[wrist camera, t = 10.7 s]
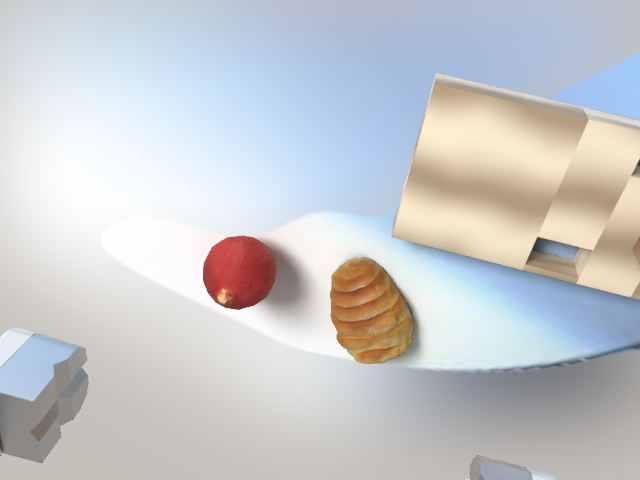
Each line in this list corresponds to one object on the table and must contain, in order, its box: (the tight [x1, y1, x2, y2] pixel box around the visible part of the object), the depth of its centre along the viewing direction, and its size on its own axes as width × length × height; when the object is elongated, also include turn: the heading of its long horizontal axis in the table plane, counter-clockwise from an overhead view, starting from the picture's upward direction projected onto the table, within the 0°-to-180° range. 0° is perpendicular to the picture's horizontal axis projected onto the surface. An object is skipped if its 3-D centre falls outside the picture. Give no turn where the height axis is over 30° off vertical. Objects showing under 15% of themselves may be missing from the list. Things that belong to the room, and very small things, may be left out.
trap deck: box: [392, 73, 640, 300], centre depth 41 cm, size 12×22×6 cm, turn 80°
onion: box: [203, 236, 276, 310], centre depth 48 cm, size 6×6×8 cm
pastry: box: [330, 257, 414, 364], centre depth 51 cm, size 9×7×4 cm
